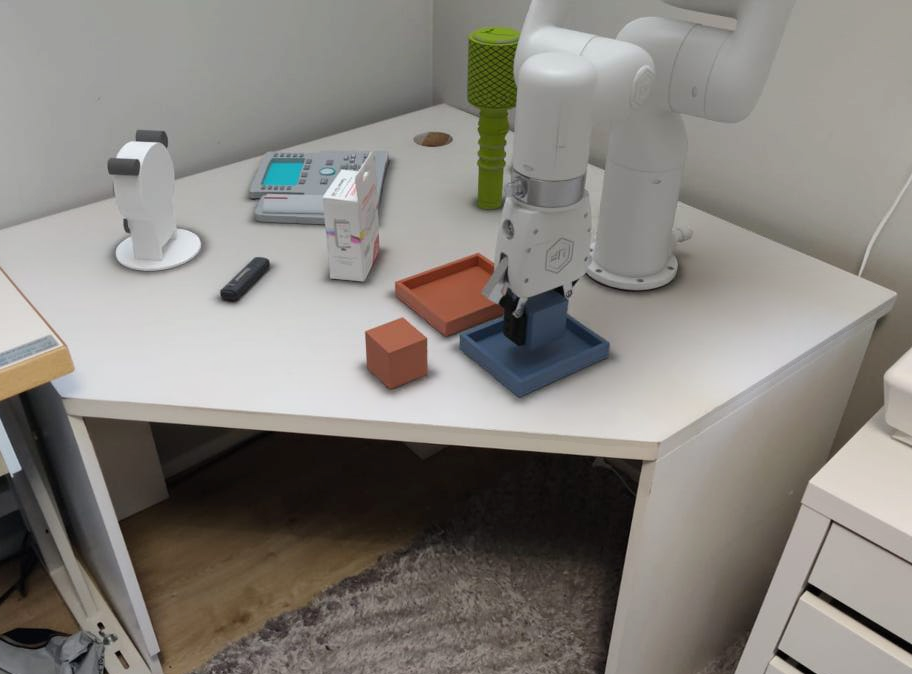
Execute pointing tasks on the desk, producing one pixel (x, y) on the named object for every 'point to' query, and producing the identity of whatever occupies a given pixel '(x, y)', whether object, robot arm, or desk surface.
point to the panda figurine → (149, 205)
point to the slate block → (544, 318)
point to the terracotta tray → (451, 294)
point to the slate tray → (533, 355)
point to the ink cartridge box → (352, 222)
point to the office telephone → (305, 182)
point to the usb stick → (244, 278)
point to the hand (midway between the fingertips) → (533, 330)
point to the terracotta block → (396, 352)
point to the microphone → (492, 104)
